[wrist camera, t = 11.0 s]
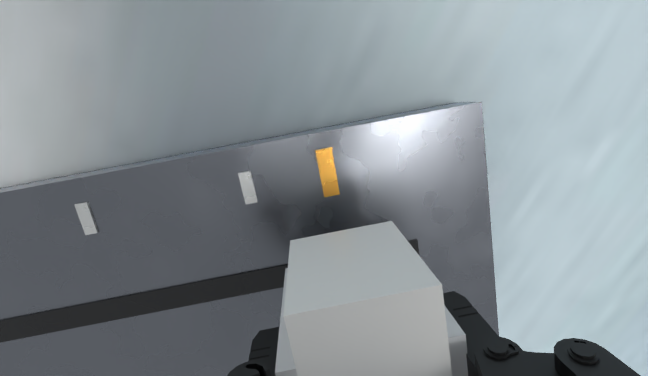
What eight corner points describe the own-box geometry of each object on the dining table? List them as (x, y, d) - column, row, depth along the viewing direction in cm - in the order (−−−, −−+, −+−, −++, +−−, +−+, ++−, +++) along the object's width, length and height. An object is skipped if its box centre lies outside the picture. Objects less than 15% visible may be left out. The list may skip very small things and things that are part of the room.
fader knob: (292, 211, 17) (283, 316, 9) (372, 196, 17) (441, 284, 9) (318, 333, 19) (332, 524, 10) (391, 319, 19) (465, 496, 10)
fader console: (-108, 208, 19) (-184, 227, 16) (455, 102, 20) (482, 101, 17) (-7, 412, 23) (-55, 459, 20) (474, 316, 23) (500, 347, 20)
